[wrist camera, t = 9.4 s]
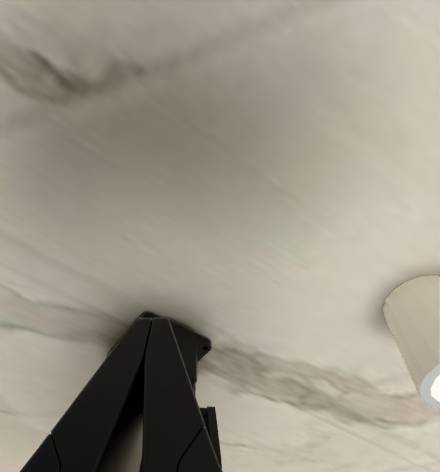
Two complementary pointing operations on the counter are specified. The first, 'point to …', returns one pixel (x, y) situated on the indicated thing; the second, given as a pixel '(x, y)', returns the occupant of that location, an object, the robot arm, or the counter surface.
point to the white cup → (418, 332)
